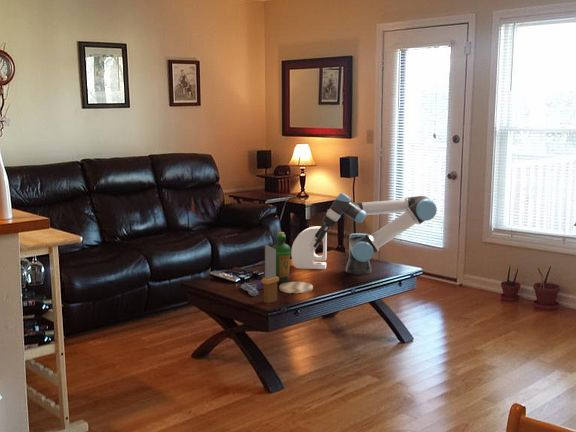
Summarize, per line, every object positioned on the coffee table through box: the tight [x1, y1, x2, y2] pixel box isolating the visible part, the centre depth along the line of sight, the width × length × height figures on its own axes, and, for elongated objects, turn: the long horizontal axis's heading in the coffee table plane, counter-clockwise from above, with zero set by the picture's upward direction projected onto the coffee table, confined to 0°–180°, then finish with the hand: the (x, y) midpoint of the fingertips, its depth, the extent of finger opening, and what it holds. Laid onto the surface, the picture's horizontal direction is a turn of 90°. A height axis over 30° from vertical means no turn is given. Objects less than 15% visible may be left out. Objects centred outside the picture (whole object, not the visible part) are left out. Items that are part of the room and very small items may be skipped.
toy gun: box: [240, 279, 264, 297], centre depth 351 cm, size 4×19×15 cm
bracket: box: [290, 225, 328, 270], centre depth 400 cm, size 7×21×25 cm, turn 82°
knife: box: [261, 244, 279, 304], centre depth 331 cm, size 8×4×30 cm, turn 136°
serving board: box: [279, 281, 314, 295], centre depth 355 cm, size 18×18×2 cm
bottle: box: [271, 231, 292, 284], centre depth 368 cm, size 11×11×28 cm
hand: (310, 249), depth 375 cm, fingers open, 13 cm apart
